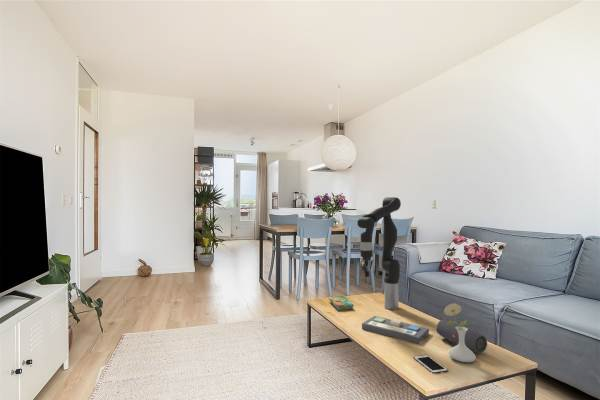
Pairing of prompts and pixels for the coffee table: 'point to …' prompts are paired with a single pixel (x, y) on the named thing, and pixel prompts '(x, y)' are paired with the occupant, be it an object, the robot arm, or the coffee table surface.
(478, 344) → the bluetooth speaker
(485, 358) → the coffee table surface
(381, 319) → the button sage
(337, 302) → the puzzle game
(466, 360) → the flower in vase
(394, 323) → the button sand
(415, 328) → the button blue
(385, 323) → the button board
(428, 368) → the cell phone
